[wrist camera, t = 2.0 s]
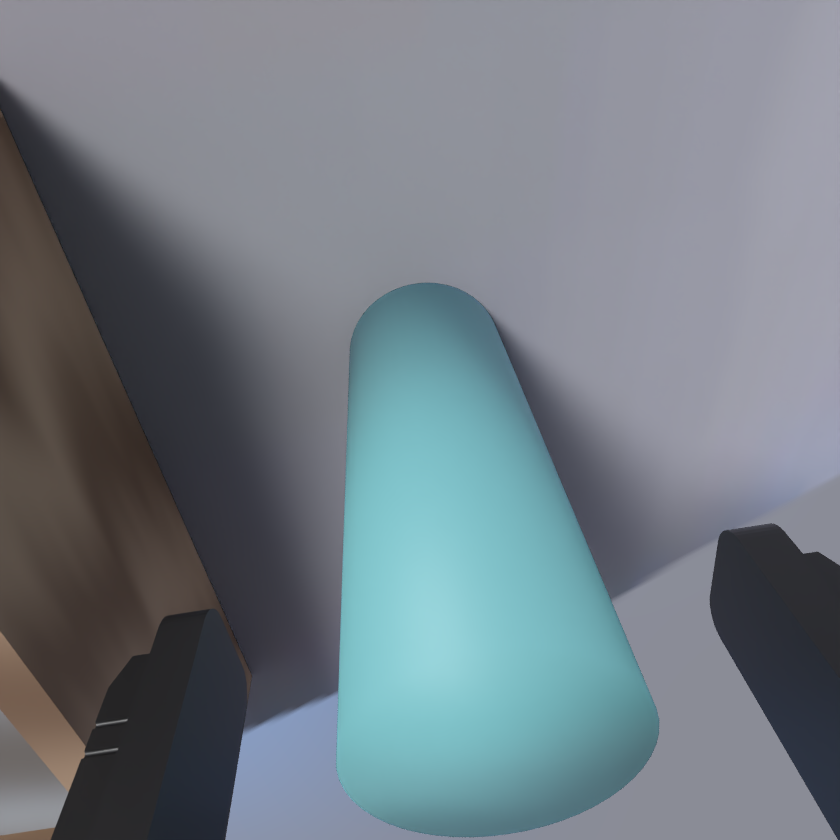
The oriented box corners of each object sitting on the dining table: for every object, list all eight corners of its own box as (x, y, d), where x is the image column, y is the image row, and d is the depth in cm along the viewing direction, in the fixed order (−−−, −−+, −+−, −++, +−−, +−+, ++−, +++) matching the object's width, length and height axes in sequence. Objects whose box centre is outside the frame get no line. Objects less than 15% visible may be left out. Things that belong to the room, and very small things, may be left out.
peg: (336, 295, 16) (301, 681, 7) (493, 271, 16) (672, 626, 7) (364, 427, 18) (367, 855, 9) (503, 406, 18) (649, 813, 9)
